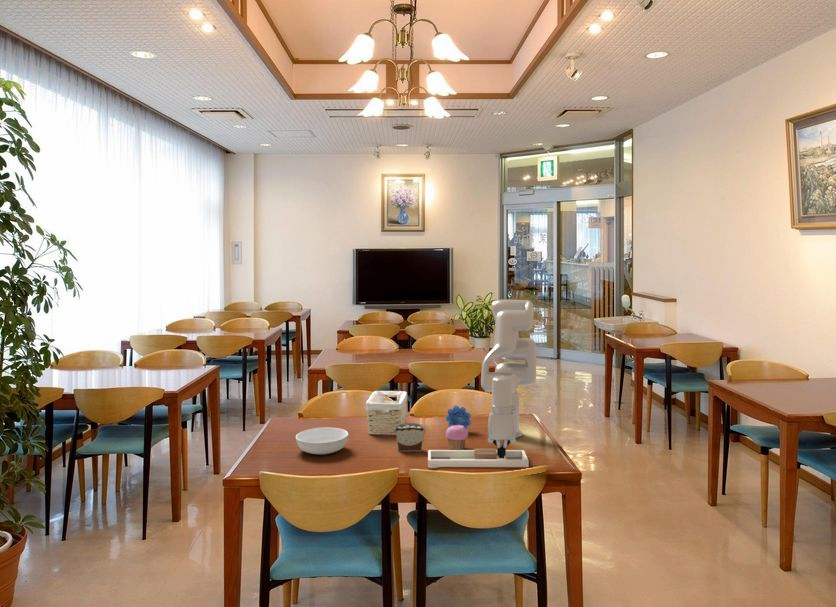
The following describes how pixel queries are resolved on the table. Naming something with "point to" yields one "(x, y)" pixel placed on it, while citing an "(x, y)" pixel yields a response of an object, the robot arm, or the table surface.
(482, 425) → the table surface
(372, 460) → the table surface
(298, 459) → the table surface
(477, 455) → the walnut block
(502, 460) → the white tray
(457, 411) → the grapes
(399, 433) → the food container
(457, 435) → the cupcake
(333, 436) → the serving bowl
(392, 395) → the storage basket
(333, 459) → the table surface
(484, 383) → the robot arm
